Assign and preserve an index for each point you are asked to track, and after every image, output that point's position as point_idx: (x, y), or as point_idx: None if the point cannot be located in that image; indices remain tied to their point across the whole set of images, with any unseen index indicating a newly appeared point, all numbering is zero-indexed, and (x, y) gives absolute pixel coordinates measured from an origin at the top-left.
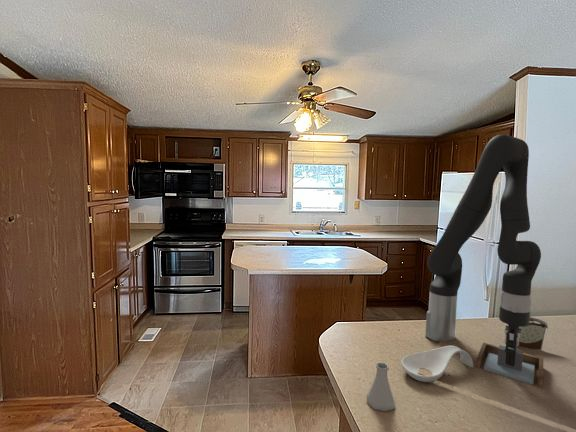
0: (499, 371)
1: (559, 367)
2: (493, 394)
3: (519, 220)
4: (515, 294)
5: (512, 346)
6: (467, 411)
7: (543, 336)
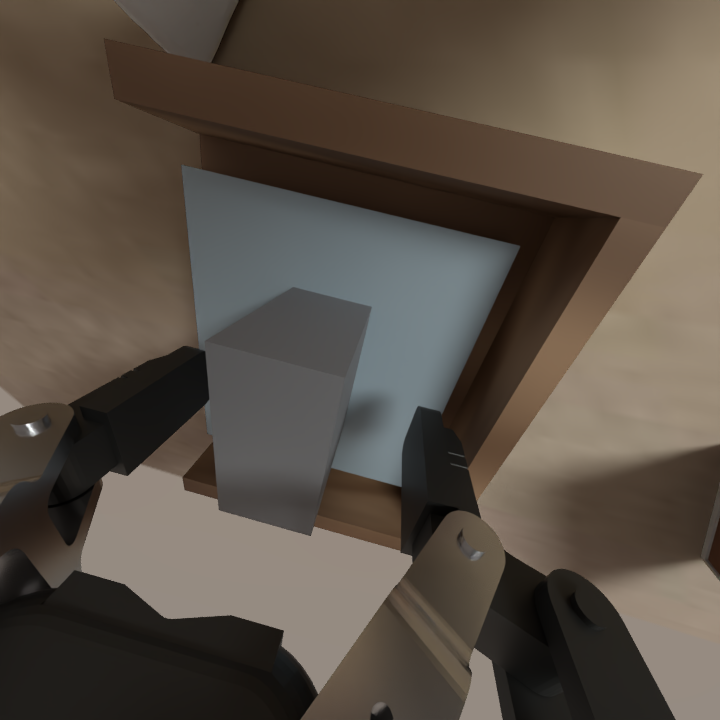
0: (194, 285)
1: None
2: (8, 216)
3: None
4: None
5: (410, 490)
6: None
7: None
